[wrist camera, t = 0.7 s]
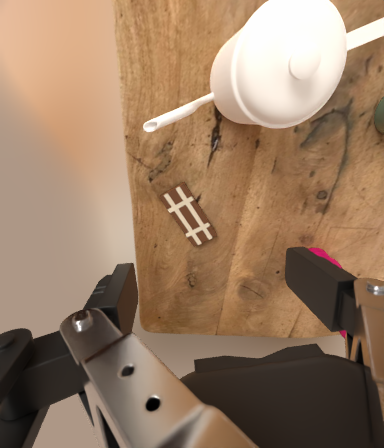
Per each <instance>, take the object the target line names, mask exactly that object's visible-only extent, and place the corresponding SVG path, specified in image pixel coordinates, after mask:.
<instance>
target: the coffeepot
mask: <svg viewBox="0 0 384 448" xmlns="http://www.w3.org/2000/svg"><path fill="white" fill-rule="evenodd" d="M381 36H384V18H382V19H379V20H377V21H375V22H372V23H370V24H368V25H365V26H363V27H361V28H358V29H356V30H354V31H351V32H349V33H347V34H346V30H345V26H344V23H343V20H342V18H341V15H340V14H339V12H338V10H337V9H336V7H335V6H334V5H333V4H332V3H331V2H330V1H329V0H269V1H267V2H266V3H264V4H263V5H262V6H261V7H260V8H259V9H258V10H257V11H256V12H255V13H254V14H253V15H252V16H251V18H250V19H249V20H248V22H247V23H246V24H245V26H244V27H243V28H242V29H241V30H239V31H238V32H237V33H236V34H235V35H234V36H233V37H231V38H230V39H229V40H228V41H227V42H226V43H225V44H224V45H223V47H222V48H221V49H220V51H219V52H218V54H217V56H216V58H215V60H214V63H213V66H212V69H211V75H210V90H211V94H208V95H206V96H204V97H201V98H199V99H197V100H195V101H193V102H191V103H189V104H186V105H184V106H182V107H180V108H177V109H175V110H173V111H170V112H168V113H166V114H163V115H161V116H159V117H156V118H154V119H152V120H149V121H147V122H146V123H144V125H143V128H144V130H145V131H146V132H152V131H154V130H157V129H159V128H161V127H164V126H166V125H168V124H171V123H173V122H175V121H178V120H180V119H182V118H184V117H186V116H188V115H190V114H192V113H194V112H195V111H196V110H197V108H198V107H199V106H201V105H203V104H206V103H208V102H210V101H212V100H213V101H214V103H215V105H216V107H217V109H218V110H219V111H220V113H221V114H222V115H223V116H225V117H226V118H227V119H229V120H231V121H233V122H236V123H240V124H256V125H261V126H264V127H268V128H275V129H279V128H287V127H291V126H294V125H297V124H299V123H301V122H303V121H305V120H307V119H308V118H310V117H311V116H313V115H314V114H315V113H316V112H317V111H319V110H320V109H321V108H322V107H323V105H324V104H325V103H326V102H327V101H328V99H329V98H330V97H331V95H332V94H333V92H334V90H335V89H336V87H337V85H338V83H339V81H340V78H341V76H342V73H343V70H344V66H345V61H346V55H347V51H348V50H350V49H352V48H355V47H357V46H360V45H362V44H365V43H367V42H369V41H372V40H374V39H377V38H379V37H381Z"/></svg>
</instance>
